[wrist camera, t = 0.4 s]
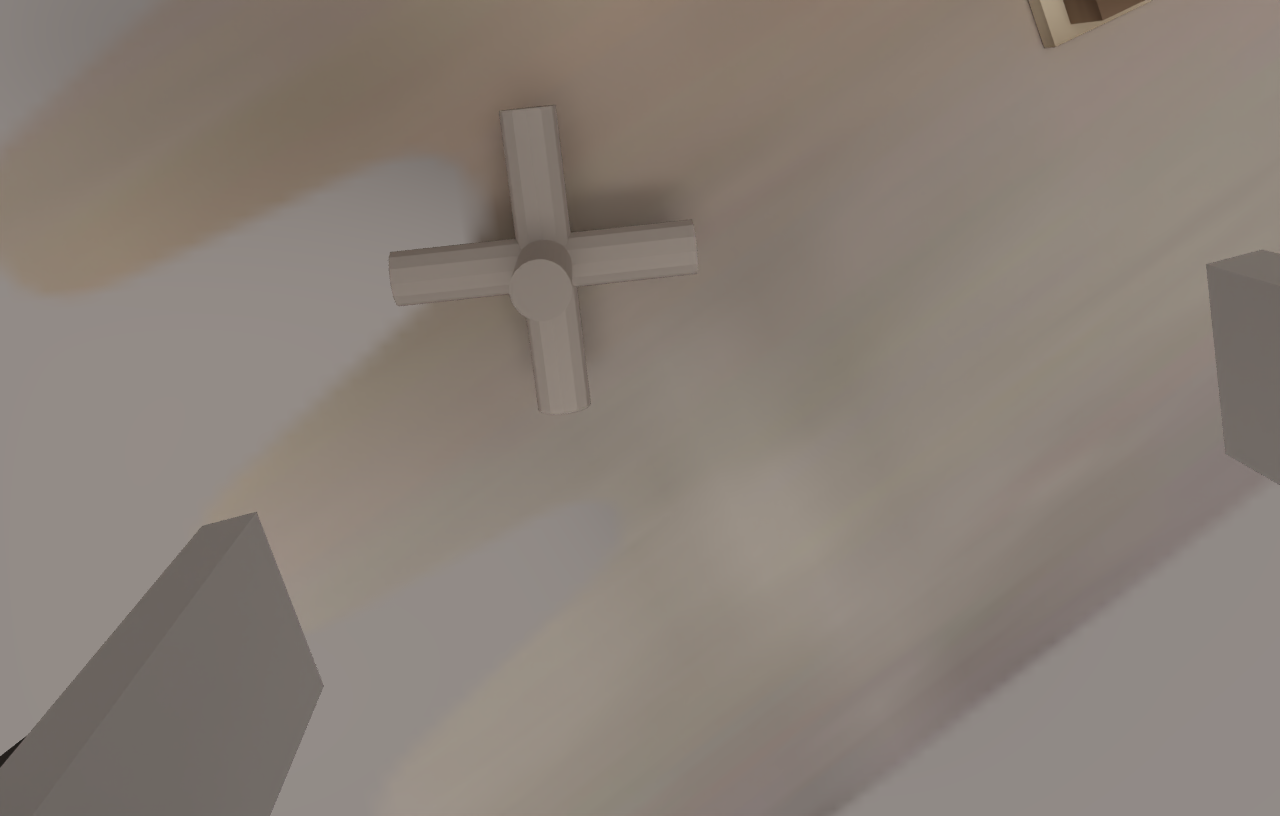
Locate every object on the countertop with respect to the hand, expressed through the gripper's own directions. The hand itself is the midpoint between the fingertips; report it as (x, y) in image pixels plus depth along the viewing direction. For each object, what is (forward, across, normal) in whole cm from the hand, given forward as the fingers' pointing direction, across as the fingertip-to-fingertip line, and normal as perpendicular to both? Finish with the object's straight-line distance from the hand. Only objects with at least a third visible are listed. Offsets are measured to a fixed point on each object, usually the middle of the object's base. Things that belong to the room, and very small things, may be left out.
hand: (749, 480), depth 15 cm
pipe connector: (+28, -3, 0) cm, 28 cm away
